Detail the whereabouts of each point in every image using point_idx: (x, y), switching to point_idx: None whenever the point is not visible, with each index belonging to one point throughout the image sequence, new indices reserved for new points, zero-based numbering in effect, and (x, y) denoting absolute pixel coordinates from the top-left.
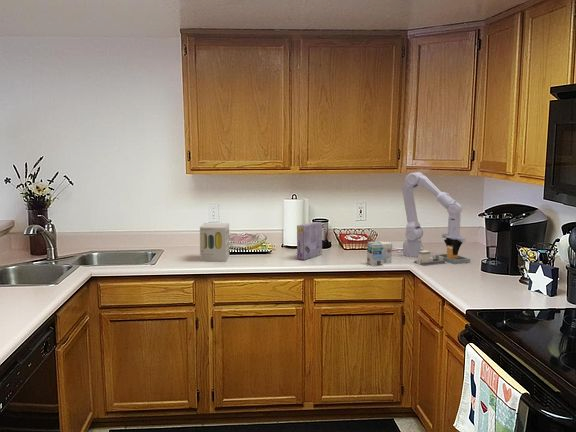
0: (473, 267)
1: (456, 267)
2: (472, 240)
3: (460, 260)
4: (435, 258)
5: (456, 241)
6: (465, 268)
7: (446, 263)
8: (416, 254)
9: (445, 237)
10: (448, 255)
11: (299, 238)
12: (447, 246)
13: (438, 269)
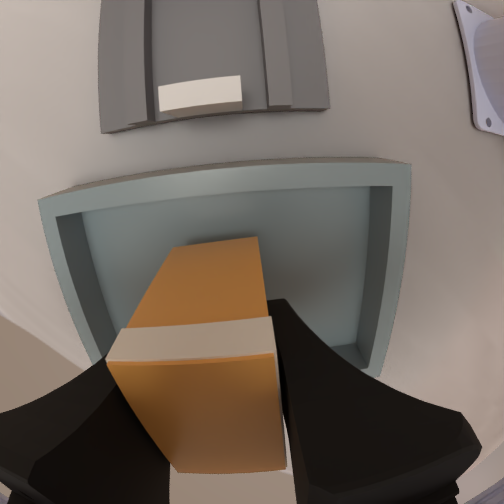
0: (35, 314)
1: (35, 184)
2: (469, 470)
3: (65, 286)
4: (386, 159)
5: (8, 485)
6: (8, 238)
7: (102, 123)
8: (493, 40)
9: (498, 492)
10: (218, 253)
11: None
12: (254, 340)
13: (36, 6)
